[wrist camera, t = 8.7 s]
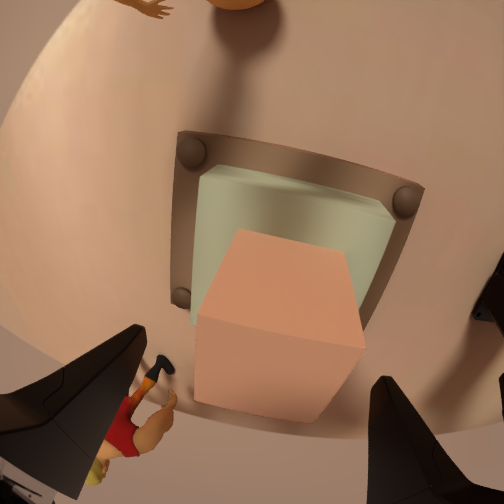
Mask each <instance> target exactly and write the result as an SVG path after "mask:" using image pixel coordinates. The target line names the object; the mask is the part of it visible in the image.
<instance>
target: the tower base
mask: <svg viewBox="0 0 504 504" xmlns="http://www.w3.org/2000/svg"><path fill="white" fill-rule="evenodd" d="M424 190H425V188H424V187H422V186H421V185H419V184H418V183H415V182H412V181H409V180H406V179H404V178H401V177H398V176H395V175H392V174H389V173H385V172H382V171H379V170H376V169H373V168H369V167H366V166H363V165H359V164H356V163H352V162H349V161H345V160H341V159H338V158H334V157H330V156H326V155H322V154H318V153H314V152H309V151H305V150H301V149H296V148H291V147H287V146H282V145H277V144H272V143H267V142H261V141H256V140H250V139H244V138H237V137H231V136H224V135H217V134H209V133H201V132H193V131H181V132H178V136H177V146H176V157H175V169H174V183H173V199H172V220H171V260H170V287H171V304H175V305H176V306H177V307H179V308H182V309H187V308H189V309H191V315H190V325H191V326H195V327H196V324H197V313H198V311H199V309H200V307H201V304H202V302H203V300H204V298H205V296H206V294H207V292H208V290H209V288H210V286H211V284H212V282H213V279H214V277H215V275H216V273H217V271H218V269H219V267H220V265H221V263H222V261H223V259H224V257H225V255H226V253H227V251H228V249H229V247H230V245H231V243H232V241H233V238H234V236H235V234H236V232H237V230H238V228H239V229H244V230H249V231H253V232H258V233H262V234H267V235H271V236H276V237H280V238H285V239H289V240H293V241H298V242H302V243H306V244H311V245H315V246H319V247H324V248H328V249H332V250H336V251H341V252H344V254H345V258H346V262H347V265H348V269H349V273H350V277H351V281H352V285H353V289H354V294H355V298H356V302H357V307H358V311H359V316H360V320H361V325H362V330H363V331H364V329H365V327H366V325H367V323H368V322H369V320H370V318H371V316H372V314H373V312H374V310H375V308H376V306H377V304H378V302H379V300H380V298H381V296H382V294H383V292H384V290H385V288H386V286H387V284H388V281H389V279H390V277H391V275H392V273H393V270H394V268H395V266H396V264H397V261H398V259H399V257H400V254H401V252H402V250H403V247H404V245H405V242H406V240H407V237H408V235H409V232H410V229H411V227H412V224H413V222H414V219H415V216H416V213H417V210H418V208H419V205H420V202H421V199H422V196H423V193H424Z"/></svg>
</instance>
